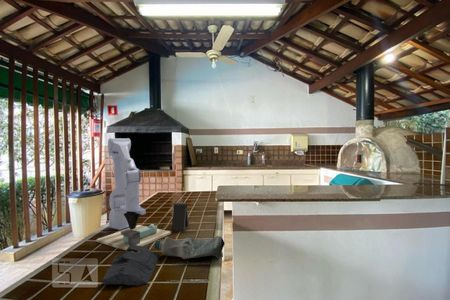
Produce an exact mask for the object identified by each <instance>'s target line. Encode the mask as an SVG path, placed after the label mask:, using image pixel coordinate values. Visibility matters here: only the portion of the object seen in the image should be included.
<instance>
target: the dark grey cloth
mask: <svg viewBox="0 0 450 300" xmlns="http://www.w3.org/2000/svg"><path fill="white" fill-rule="evenodd" d="M160 257H161V255H160V254H159V253H157V252H155V251H154V252H153V251H151V250H150V249H149V248H147V246H145V245H144V246H137V245H134V244H131V245H130V246H129V247H128V248H127V251H124V252H123V254H120V255H116V256H115V257H114V258H113V260H112V262H111V265H110V266H109V267H108V269H107V271H106V273H105V275H104V276H103V277H102V279H101V280H102V283H103V285H125V286H137V287H139V286H143V285H147V284H149V281H150V279H151V277H152V275H153V272H154V271H155V270H156V266H157V265H158V262H159V260H160Z"/></svg>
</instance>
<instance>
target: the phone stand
mask: <svg viewBox="0 0 450 300" xmlns="http://www.w3.org/2000/svg"><path fill="white" fill-rule="evenodd" d="M172 207H173V211H172V212H173V213H172V221H171V231H179V232H180V231H185V230H186V229H187V228H188V227H189V226H190V224H189V221H190V220H189V214H188V203H187V202H174V203H173V206H172Z"/></svg>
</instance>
